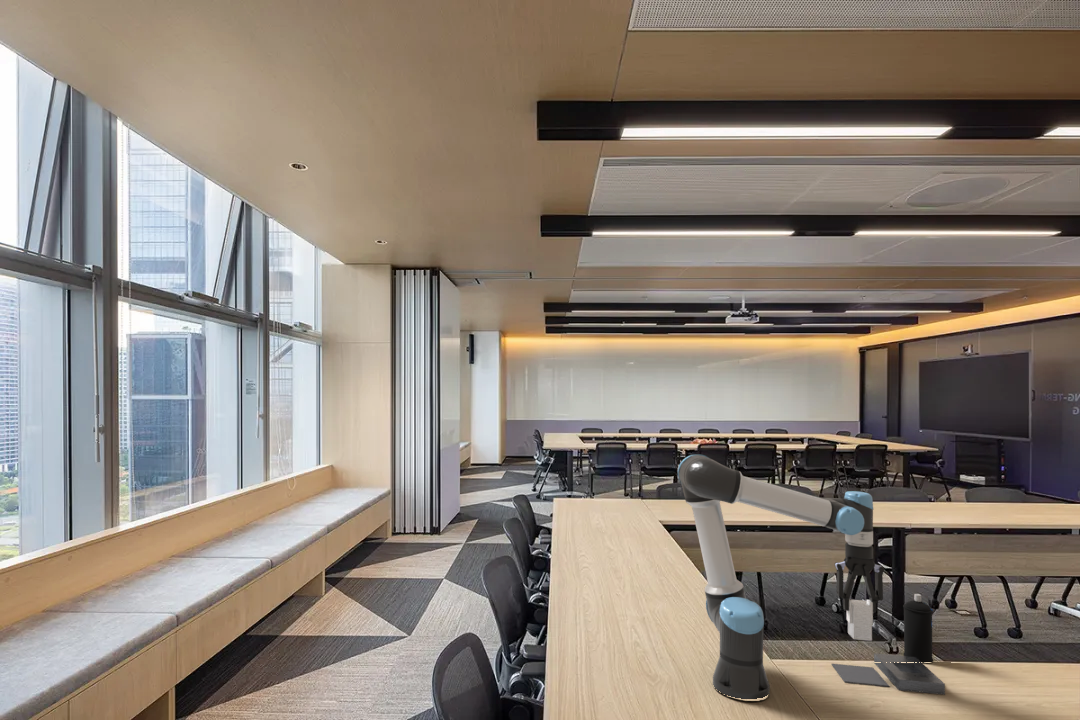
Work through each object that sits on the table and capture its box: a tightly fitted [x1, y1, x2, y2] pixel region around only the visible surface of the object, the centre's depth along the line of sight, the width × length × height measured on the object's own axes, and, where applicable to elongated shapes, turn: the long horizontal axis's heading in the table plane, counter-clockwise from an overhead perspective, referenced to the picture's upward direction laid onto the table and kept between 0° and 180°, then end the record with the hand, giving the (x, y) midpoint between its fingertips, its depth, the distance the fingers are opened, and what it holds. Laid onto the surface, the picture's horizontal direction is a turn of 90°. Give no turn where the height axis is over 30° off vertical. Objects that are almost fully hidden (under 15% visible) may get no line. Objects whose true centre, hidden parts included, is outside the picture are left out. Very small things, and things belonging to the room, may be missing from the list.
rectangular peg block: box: [847, 599, 873, 641], centre depth 181 cm, size 5×5×10 cm
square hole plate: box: [873, 652, 946, 696], centre depth 179 cm, size 12×18×3 cm, turn 171°
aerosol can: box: [902, 593, 934, 663], centre depth 195 cm, size 8×8×20 cm
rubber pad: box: [830, 663, 890, 688], centre depth 180 cm, size 12×12×1 cm
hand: (859, 622), depth 181 cm, fingers closed on rectangular peg block, 5 cm apart
